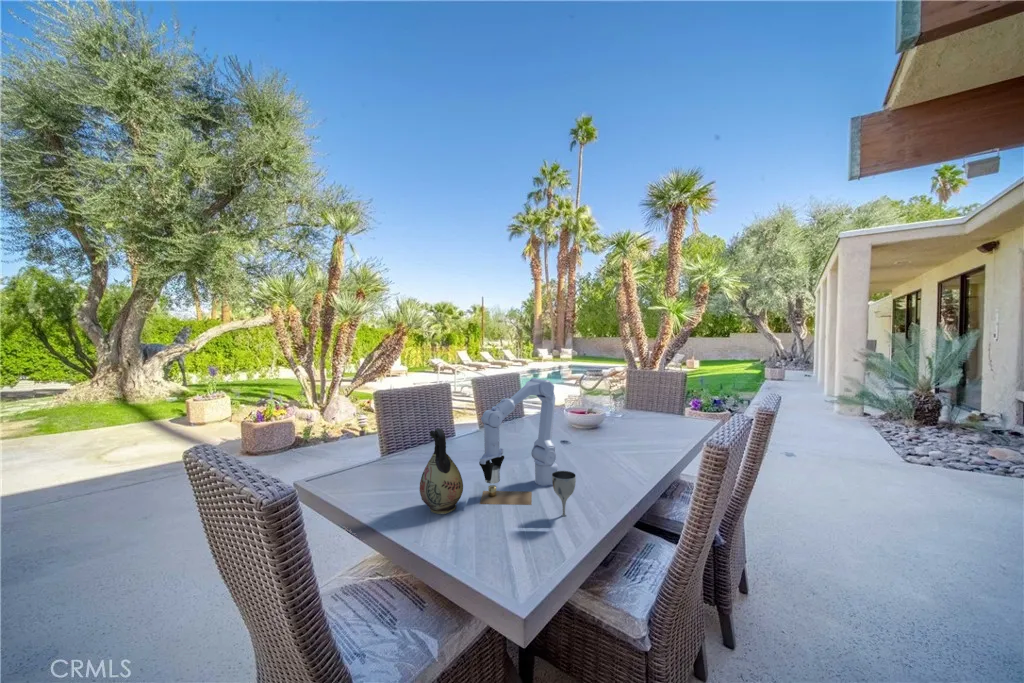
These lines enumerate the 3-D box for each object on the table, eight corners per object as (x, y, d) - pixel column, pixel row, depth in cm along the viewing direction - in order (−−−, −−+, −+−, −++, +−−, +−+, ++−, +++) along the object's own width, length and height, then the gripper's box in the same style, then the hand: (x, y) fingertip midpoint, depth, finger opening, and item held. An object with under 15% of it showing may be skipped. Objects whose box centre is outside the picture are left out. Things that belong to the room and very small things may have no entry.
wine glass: (570, 526, 130) (569, 480, 130) (548, 520, 135) (547, 476, 134) (579, 516, 137) (579, 473, 137) (558, 511, 141) (558, 469, 141)
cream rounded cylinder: (496, 494, 154) (496, 485, 154) (495, 497, 151) (495, 488, 151) (488, 494, 154) (488, 485, 154) (488, 497, 151) (487, 488, 151)
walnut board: (531, 494, 156) (531, 491, 156) (531, 507, 144) (531, 504, 144) (483, 493, 157) (483, 490, 157) (479, 506, 145) (479, 504, 145)
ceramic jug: (416, 504, 148) (415, 423, 147) (457, 497, 154) (456, 420, 153) (424, 524, 132) (423, 434, 132) (469, 516, 138) (468, 430, 137)
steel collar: (502, 479, 154) (502, 466, 154) (495, 484, 149) (495, 471, 149) (489, 476, 156) (489, 464, 156) (482, 481, 151) (482, 468, 151)
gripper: (491, 448, 144) (491, 485, 144) (510, 438, 157) (510, 472, 157) (474, 445, 147) (475, 482, 147) (494, 436, 160) (494, 470, 160)
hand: (492, 477), depth 153 cm, fingers closed on steel collar, 6 cm apart
